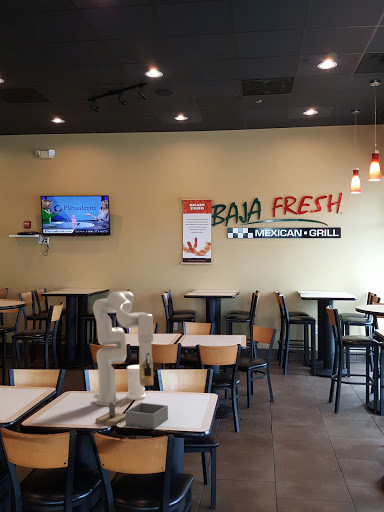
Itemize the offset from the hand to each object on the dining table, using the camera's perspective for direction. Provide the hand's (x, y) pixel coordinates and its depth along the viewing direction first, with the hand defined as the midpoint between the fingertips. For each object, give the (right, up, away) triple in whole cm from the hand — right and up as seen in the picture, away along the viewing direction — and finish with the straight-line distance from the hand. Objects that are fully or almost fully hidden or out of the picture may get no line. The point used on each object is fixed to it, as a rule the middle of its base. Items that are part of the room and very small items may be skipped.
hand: (146, 374), depth 246 cm
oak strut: (0, -5, 0) cm, 5 cm away
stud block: (-18, -25, +3) cm, 31 cm away
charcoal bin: (0, -24, 0) cm, 24 cm away
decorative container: (-10, -25, +46) cm, 53 cm away
